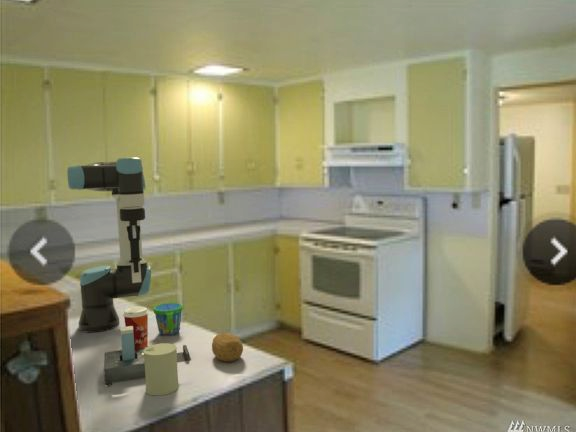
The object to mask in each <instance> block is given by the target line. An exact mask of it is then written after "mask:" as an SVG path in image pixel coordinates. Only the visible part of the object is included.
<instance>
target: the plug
mask: <svg viewBox="0 0 576 432" xmlns="http://www.w3.org/2000/svg"><path fill="white" fill-rule="evenodd" d="M120 341H121V344H120V345H121V350H122V359H123V361H125V360H132V359H135V350H134V334H133V326H128V327H125V326H121V327H120Z"/></svg>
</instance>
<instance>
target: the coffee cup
mask: <svg viewBox="0 0 576 432" xmlns="http://www.w3.org/2000/svg"><path fill="white" fill-rule="evenodd" d="M148 314H149V310H148V308H147V307H145V306H132V307H127V308H126V309H124V311H123V314H122V316H123V318H124V327H128V326H133V334H134V348H140V347H147V346H148V344H149V342H148V341H149V340H148V336H149V335H148V329H149V328H148V325H149V324H148V323H149V321H148V318H149V317H148Z"/></svg>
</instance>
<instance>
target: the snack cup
mask: <svg viewBox="0 0 576 432" xmlns="http://www.w3.org/2000/svg"><path fill="white" fill-rule="evenodd" d="M183 309H184V308H183V304H182V303H178V302H167V303H165V302H164V303H160V304H157V305H156V306H154V307H153V312H154V314H155V316H154V317H155V320H156V321H155V322H156V324H157V329H158V330H157V331H158V332H159V334H160V335H161V336H165V337H166V336H172V335H173V336H174V335H176V334H178V333H180V329H181V322H182V321H181V320H182V312H183Z"/></svg>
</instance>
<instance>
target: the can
mask: <svg viewBox="0 0 576 432" xmlns="http://www.w3.org/2000/svg"><path fill="white" fill-rule="evenodd" d="M177 349H178V347H177V346H176V344H173V343H165V342H161V343H156V344H151V345H149V347H147V348H145V349H144V351H143V352H144V362H145V377H146V378H145V392H146V393H147V394H148V395H152V396H163V395H164V396H165V395H169V394H172V393H174V392H176V391H177V390H178V389H179V388H180V384H179V374H178V373H179V372H178V362H177V353H178V352H177Z"/></svg>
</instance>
